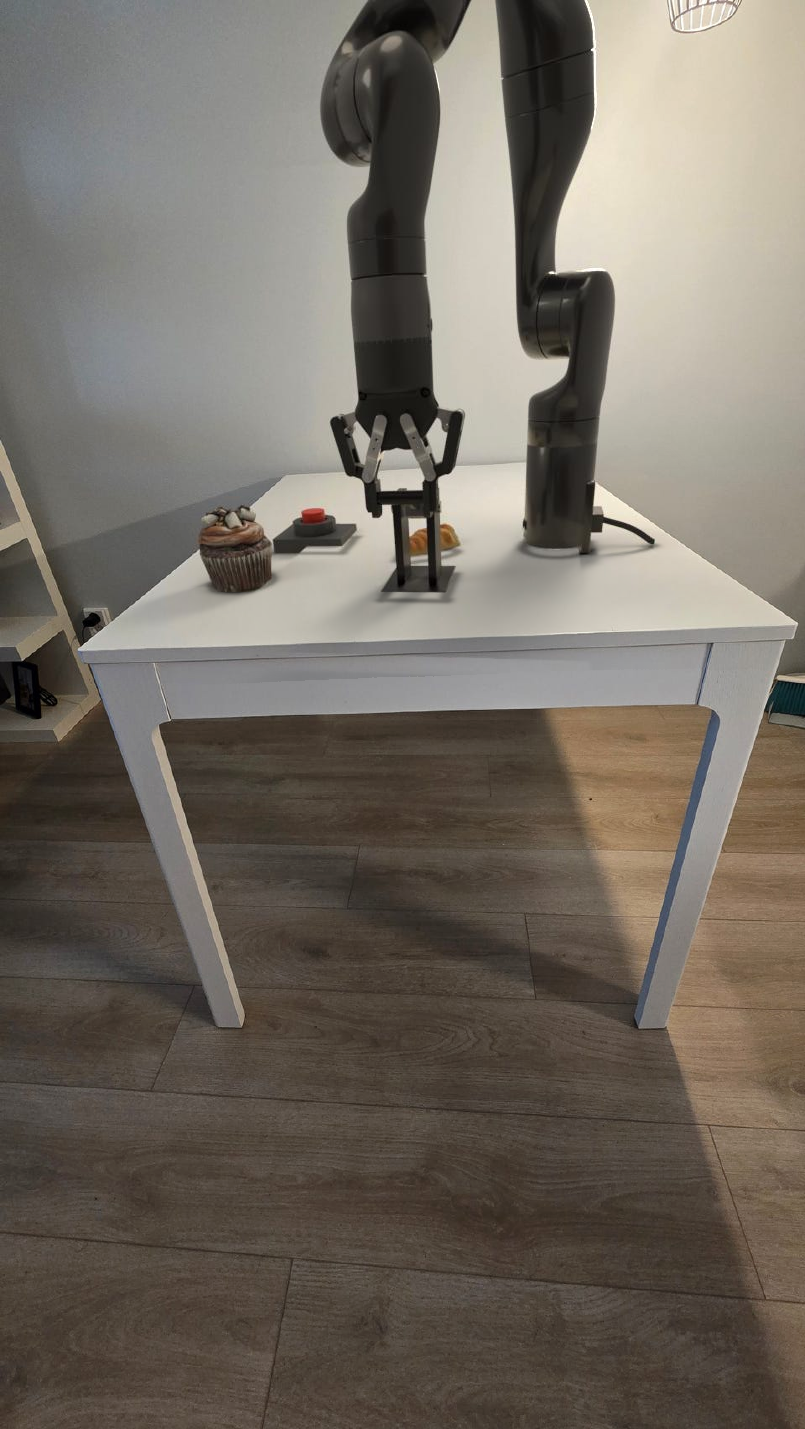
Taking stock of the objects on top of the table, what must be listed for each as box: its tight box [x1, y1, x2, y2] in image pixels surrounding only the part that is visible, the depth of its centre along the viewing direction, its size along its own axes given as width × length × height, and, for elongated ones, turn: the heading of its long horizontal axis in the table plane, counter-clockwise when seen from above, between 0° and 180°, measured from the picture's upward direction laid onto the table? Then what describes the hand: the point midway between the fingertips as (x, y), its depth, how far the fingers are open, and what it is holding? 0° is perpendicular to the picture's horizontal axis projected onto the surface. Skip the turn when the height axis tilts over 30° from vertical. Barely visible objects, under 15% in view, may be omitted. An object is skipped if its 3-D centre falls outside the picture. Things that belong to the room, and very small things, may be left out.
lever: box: [377, 489, 425, 520], centre depth 73 cm, size 11×5×2 cm, turn 169°
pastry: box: [409, 523, 461, 557], centre depth 93 cm, size 9×7×4 cm
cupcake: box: [197, 504, 273, 593], centre depth 86 cm, size 10×10×10 cm
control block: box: [272, 514, 358, 554], centre depth 101 cm, size 11×9×4 cm
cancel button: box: [300, 507, 326, 523], centre depth 100 cm, size 4×4×2 cm
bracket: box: [380, 486, 457, 593], centre depth 79 cm, size 10×8×12 cm
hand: (403, 515), depth 70 cm, fingers closed on lever, 5 cm apart
